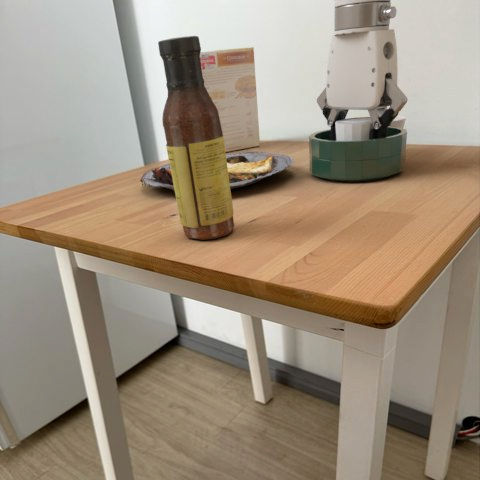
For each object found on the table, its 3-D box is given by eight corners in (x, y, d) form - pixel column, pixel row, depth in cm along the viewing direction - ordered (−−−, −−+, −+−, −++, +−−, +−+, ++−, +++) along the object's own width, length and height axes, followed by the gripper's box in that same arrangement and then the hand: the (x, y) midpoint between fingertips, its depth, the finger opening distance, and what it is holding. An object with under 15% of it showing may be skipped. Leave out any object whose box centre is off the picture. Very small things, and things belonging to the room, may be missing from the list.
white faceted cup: (341, 162, 80) (341, 117, 76) (382, 162, 77) (385, 116, 73) (329, 171, 74) (329, 123, 71) (373, 172, 71) (375, 122, 68)
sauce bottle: (240, 224, 57) (223, 34, 48) (227, 242, 52) (206, 32, 42) (189, 224, 59) (163, 40, 49) (172, 242, 54) (139, 40, 44)
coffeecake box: (245, 143, 111) (237, 48, 102) (261, 146, 106) (255, 46, 96) (187, 153, 105) (174, 53, 96) (201, 157, 100) (189, 51, 90)
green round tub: (349, 160, 85) (350, 124, 82) (422, 168, 75) (426, 128, 72) (291, 176, 77) (290, 137, 74) (363, 188, 67) (365, 144, 64)
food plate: (115, 196, 75) (110, 174, 74) (189, 165, 93) (187, 146, 91) (258, 203, 65) (256, 177, 63) (311, 166, 83) (310, 145, 81)
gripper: (433, 12, 62) (419, 154, 70) (332, 26, 74) (331, 145, 83) (398, 14, 58) (388, 163, 67) (298, 28, 70) (300, 153, 79)
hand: (356, 152), depth 75 cm, fingers closed on white faceted cup, 6 cm apart
